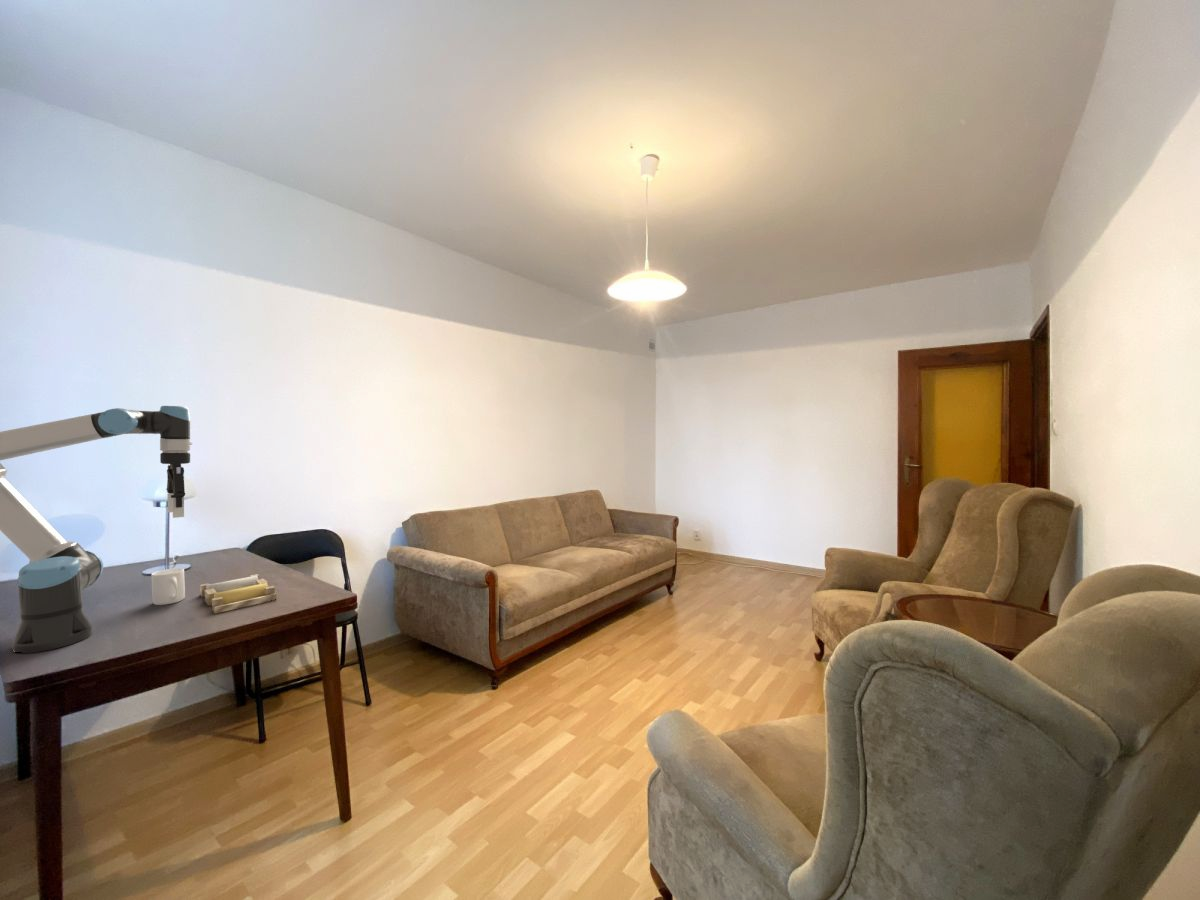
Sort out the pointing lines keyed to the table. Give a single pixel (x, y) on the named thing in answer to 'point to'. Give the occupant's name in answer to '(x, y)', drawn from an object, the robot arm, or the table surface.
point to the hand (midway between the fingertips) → (175, 514)
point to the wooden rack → (219, 607)
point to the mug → (168, 586)
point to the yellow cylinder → (242, 593)
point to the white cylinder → (233, 584)
